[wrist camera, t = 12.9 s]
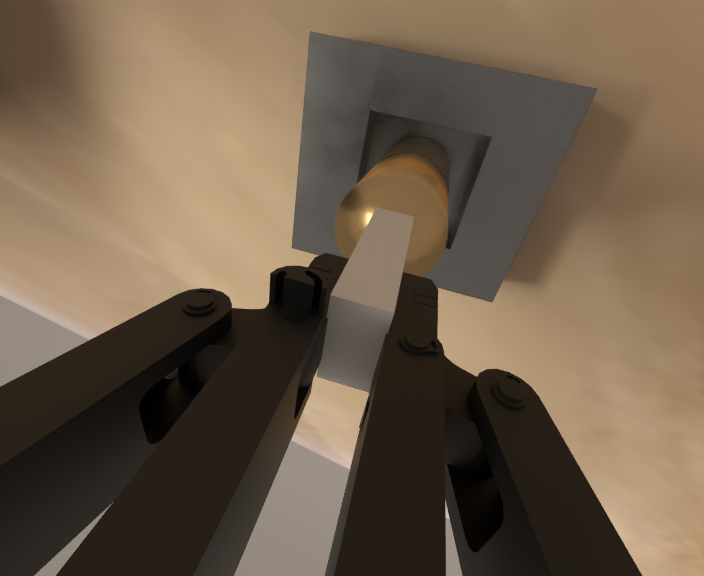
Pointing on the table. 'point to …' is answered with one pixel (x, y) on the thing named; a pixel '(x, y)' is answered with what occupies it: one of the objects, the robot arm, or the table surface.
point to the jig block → (448, 133)
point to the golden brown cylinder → (402, 201)
